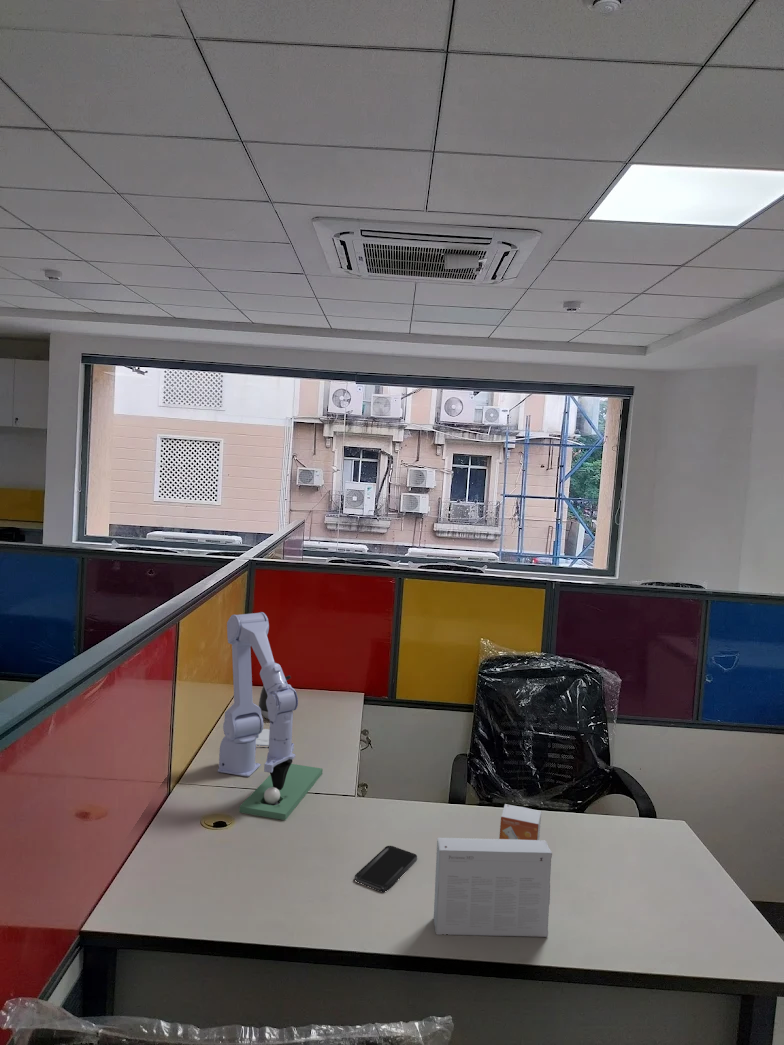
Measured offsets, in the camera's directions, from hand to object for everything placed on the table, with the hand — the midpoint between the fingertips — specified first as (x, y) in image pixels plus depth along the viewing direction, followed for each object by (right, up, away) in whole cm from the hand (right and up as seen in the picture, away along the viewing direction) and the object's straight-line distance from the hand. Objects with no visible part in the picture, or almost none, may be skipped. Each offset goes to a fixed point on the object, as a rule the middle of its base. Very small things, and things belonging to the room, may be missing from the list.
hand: (278, 788), depth 171 cm
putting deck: (+1, -2, +4) cm, 5 cm away
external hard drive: (-10, -1, +37) cm, 39 cm away
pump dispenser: (-11, +1, +57) cm, 58 cm away
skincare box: (+47, -8, -45) cm, 66 cm away
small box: (+56, -7, -27) cm, 63 cm away
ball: (-1, 0, -4) cm, 4 cm away
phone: (+28, -6, -29) cm, 41 cm away
